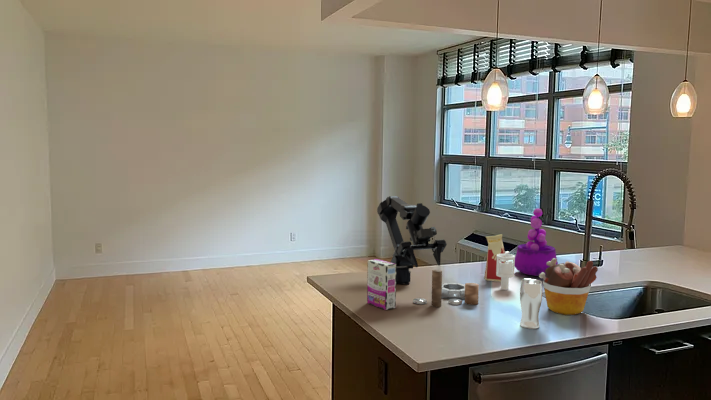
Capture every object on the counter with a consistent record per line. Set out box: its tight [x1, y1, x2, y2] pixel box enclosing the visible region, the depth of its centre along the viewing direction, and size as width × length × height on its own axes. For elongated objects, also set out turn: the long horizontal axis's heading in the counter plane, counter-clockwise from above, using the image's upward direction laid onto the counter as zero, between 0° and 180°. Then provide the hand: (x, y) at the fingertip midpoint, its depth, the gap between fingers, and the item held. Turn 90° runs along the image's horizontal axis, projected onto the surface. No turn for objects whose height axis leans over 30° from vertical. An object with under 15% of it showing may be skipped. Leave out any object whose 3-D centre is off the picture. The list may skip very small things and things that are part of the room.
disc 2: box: [447, 299, 463, 306], centre depth 208 cm, size 5×5×1 cm
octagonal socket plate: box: [441, 282, 465, 300], centre depth 219 cm, size 16×12×3 cm
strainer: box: [496, 250, 516, 291], centre depth 226 cm, size 7×7×15 cm
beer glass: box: [519, 278, 543, 330], centre depth 183 cm, size 7×7×15 cm
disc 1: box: [412, 297, 428, 305], centre depth 209 cm, size 5×5×1 cm
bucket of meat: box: [538, 257, 599, 316], centre depth 198 cm, size 20×16×20 cm
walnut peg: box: [430, 269, 443, 308], centre depth 204 cm, size 4×4×13 cm
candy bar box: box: [366, 258, 397, 311], centre depth 204 cm, size 11×5×16 cm, turn 37°
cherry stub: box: [464, 282, 480, 306], centre depth 208 cm, size 5×5×7 cm
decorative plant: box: [514, 207, 559, 277], centre depth 249 cm, size 19×18×30 cm
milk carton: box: [483, 233, 507, 283], centre depth 242 cm, size 9×9×20 cm
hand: (428, 265), depth 211 cm, fingers open, 9 cm apart
